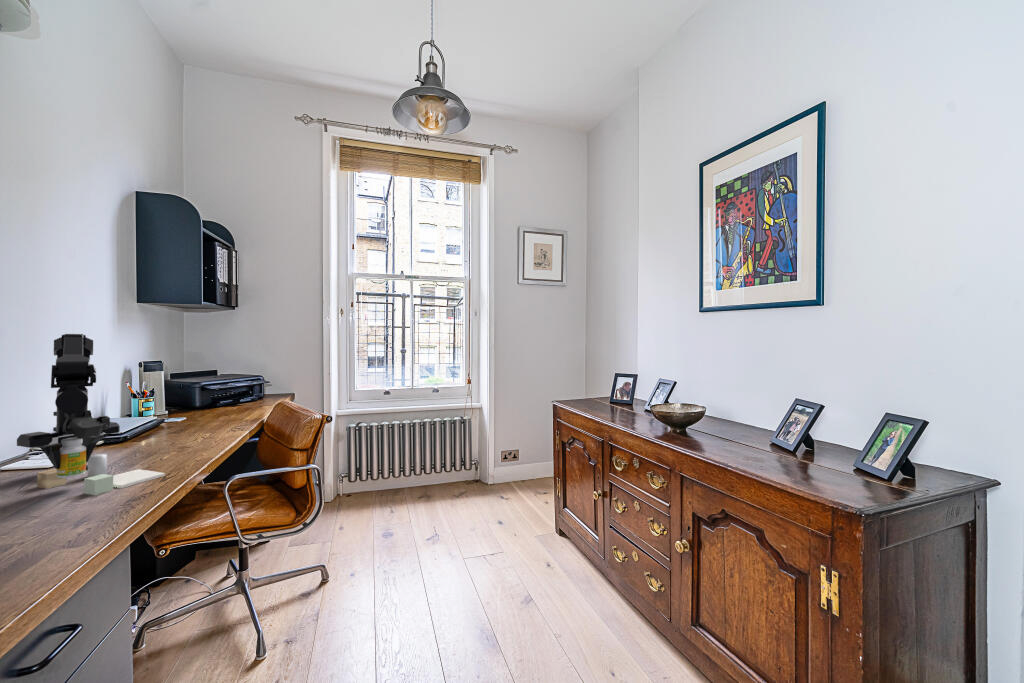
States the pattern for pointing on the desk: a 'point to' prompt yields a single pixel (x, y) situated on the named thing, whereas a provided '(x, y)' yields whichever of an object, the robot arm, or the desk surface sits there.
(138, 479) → the ceramic tile
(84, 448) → the supplement bottle
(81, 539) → the desk surface
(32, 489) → the desk surface
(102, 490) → the sage block
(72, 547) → the desk surface
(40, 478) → the beech block
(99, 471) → the grey capsule
